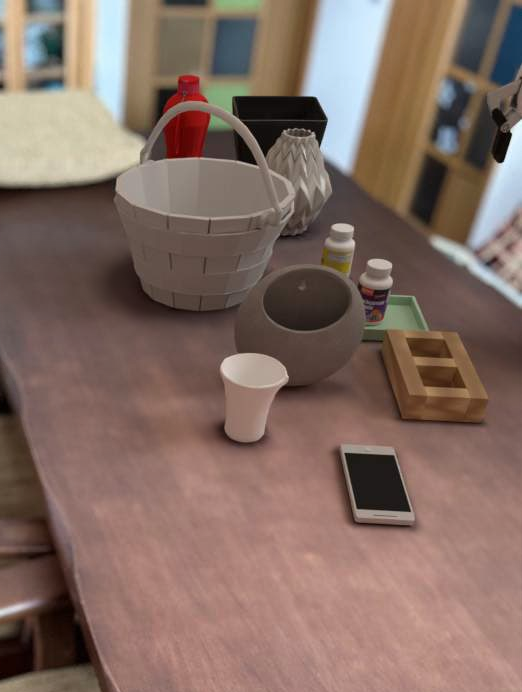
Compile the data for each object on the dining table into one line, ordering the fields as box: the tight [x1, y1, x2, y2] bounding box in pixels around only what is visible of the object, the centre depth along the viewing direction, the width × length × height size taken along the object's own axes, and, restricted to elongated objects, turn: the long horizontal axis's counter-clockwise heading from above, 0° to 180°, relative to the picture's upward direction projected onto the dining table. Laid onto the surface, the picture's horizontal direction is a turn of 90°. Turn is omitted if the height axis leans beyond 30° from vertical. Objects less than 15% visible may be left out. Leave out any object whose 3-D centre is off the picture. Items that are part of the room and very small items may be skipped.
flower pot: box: [231, 95, 329, 166], centre depth 183 cm, size 19×19×17 cm
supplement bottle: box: [320, 223, 356, 279], centre depth 149 cm, size 5×5×10 cm
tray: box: [361, 294, 430, 342], centre depth 139 cm, size 17×13×2 cm
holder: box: [380, 329, 490, 424], centre depth 123 cm, size 11×20×4 cm, turn 176°
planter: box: [233, 263, 366, 387], centre depth 118 cm, size 18×7×19 cm, turn 87°
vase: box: [265, 128, 333, 237], centre depth 164 cm, size 16×16×18 cm
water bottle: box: [162, 74, 212, 159], centre depth 171 cm, size 9×11×25 cm
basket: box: [113, 101, 296, 312], centre depth 139 cm, size 31×35×30 cm
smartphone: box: [339, 443, 416, 526], centre depth 105 cm, size 7×16×1 cm, turn 176°
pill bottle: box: [356, 258, 394, 326], centre depth 136 cm, size 5×5×10 cm
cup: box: [219, 353, 289, 443], centre depth 111 cm, size 9×9×10 cm
